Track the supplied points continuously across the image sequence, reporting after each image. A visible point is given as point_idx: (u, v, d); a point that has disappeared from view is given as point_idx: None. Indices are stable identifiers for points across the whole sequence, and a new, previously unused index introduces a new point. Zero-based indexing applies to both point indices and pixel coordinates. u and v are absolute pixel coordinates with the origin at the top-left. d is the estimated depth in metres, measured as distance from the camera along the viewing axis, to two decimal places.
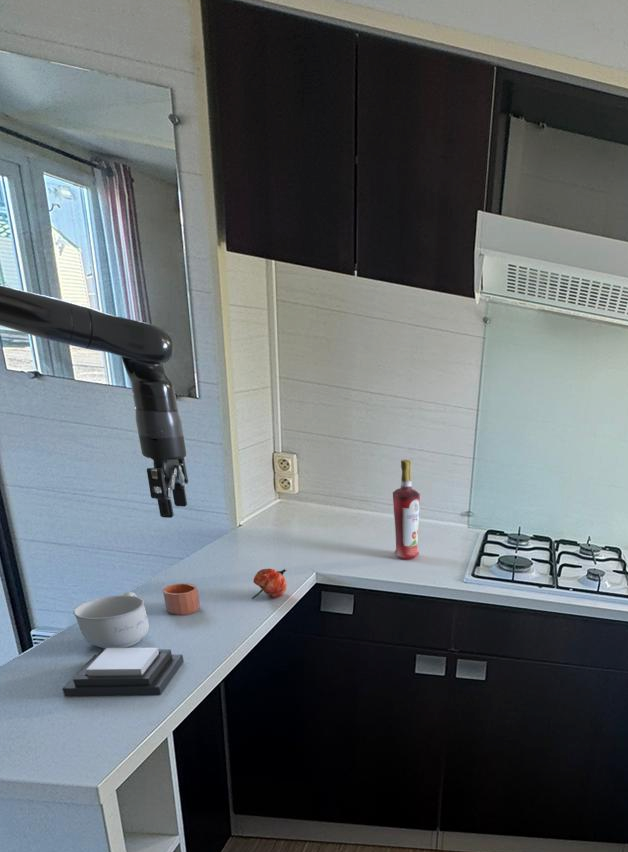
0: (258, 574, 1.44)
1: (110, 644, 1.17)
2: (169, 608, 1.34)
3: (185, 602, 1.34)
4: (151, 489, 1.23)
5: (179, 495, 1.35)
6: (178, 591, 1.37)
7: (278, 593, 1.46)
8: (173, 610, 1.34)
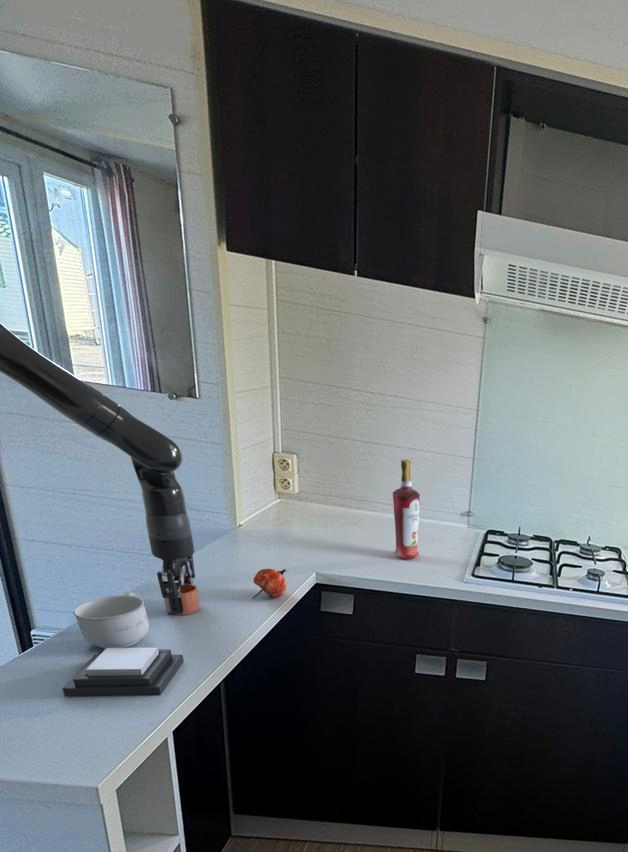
0: (258, 574, 1.44)
1: (110, 644, 1.17)
2: (169, 608, 1.34)
3: (185, 602, 1.34)
4: (162, 591, 1.28)
5: None
6: None
7: (278, 593, 1.46)
8: None
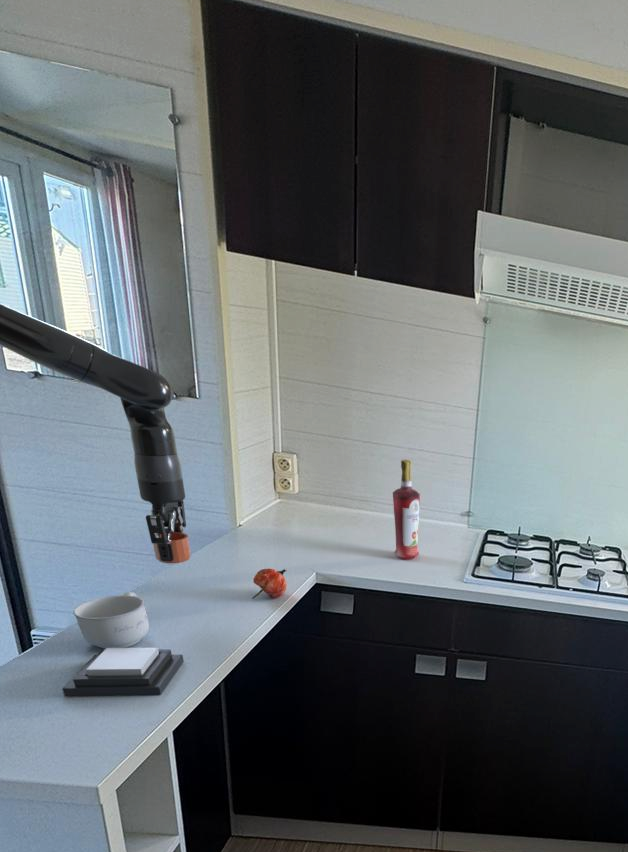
0: (258, 574, 1.44)
1: (110, 644, 1.17)
2: (159, 556, 1.29)
3: (175, 550, 1.29)
4: (151, 535, 1.23)
5: None
6: None
7: (278, 593, 1.46)
8: None
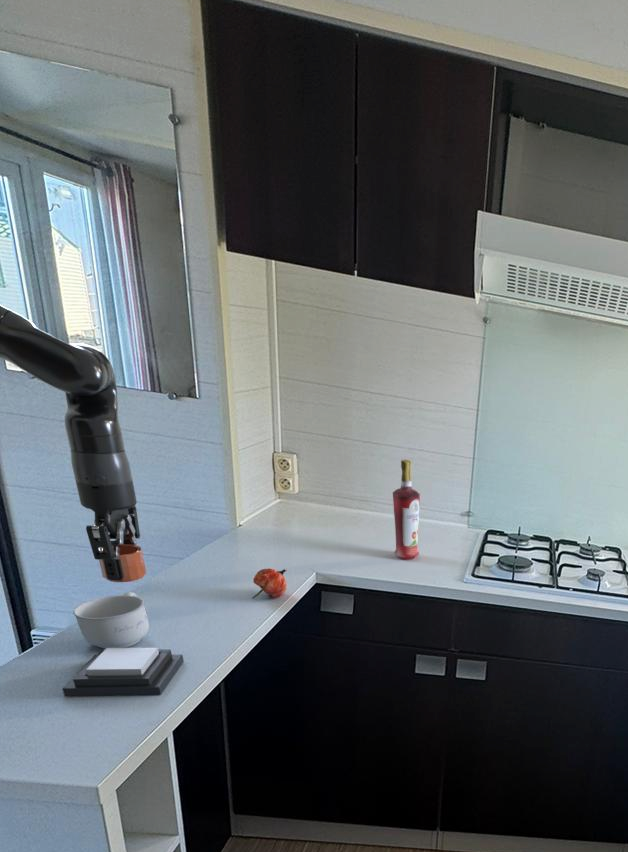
0: (258, 574, 1.44)
1: (110, 644, 1.17)
2: (106, 574, 1.07)
3: (126, 566, 1.07)
4: (94, 550, 1.02)
5: None
6: None
7: (278, 593, 1.46)
8: None
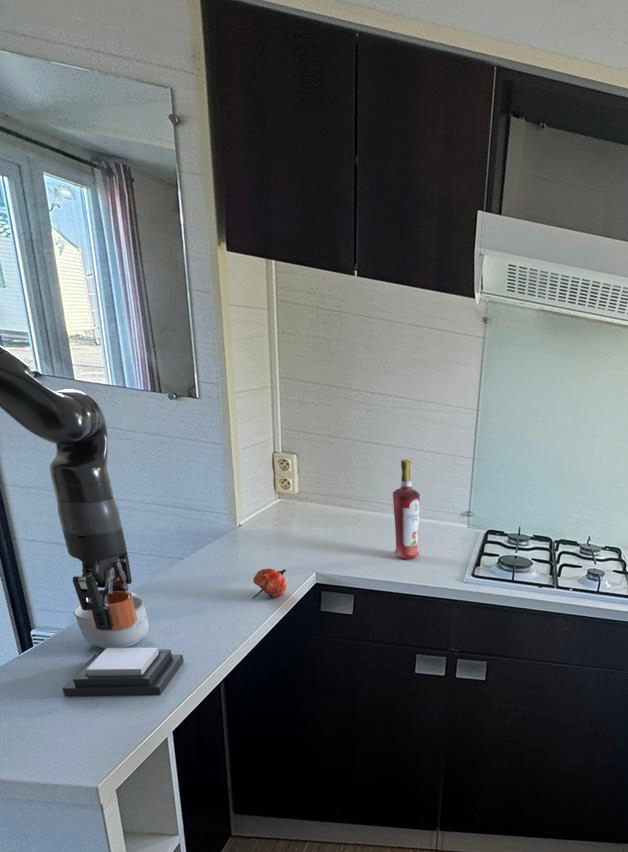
0: (258, 574, 1.44)
1: (110, 644, 1.17)
2: None
3: (115, 615, 1.04)
4: (81, 601, 0.98)
5: None
6: (109, 601, 1.07)
7: (278, 593, 1.46)
8: None
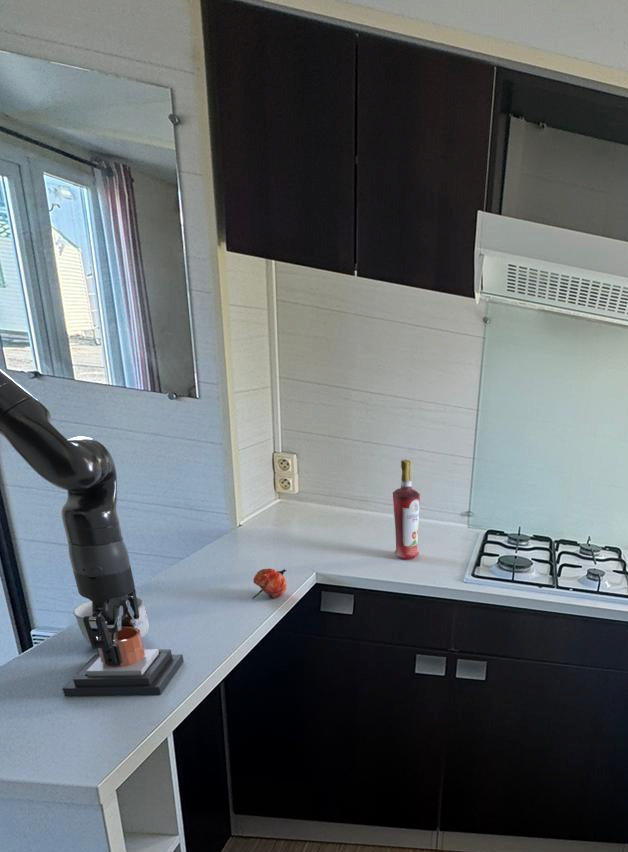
0: (258, 574, 1.44)
1: None
2: None
3: (124, 651, 1.07)
4: (91, 640, 1.01)
5: None
6: None
7: (278, 593, 1.46)
8: None
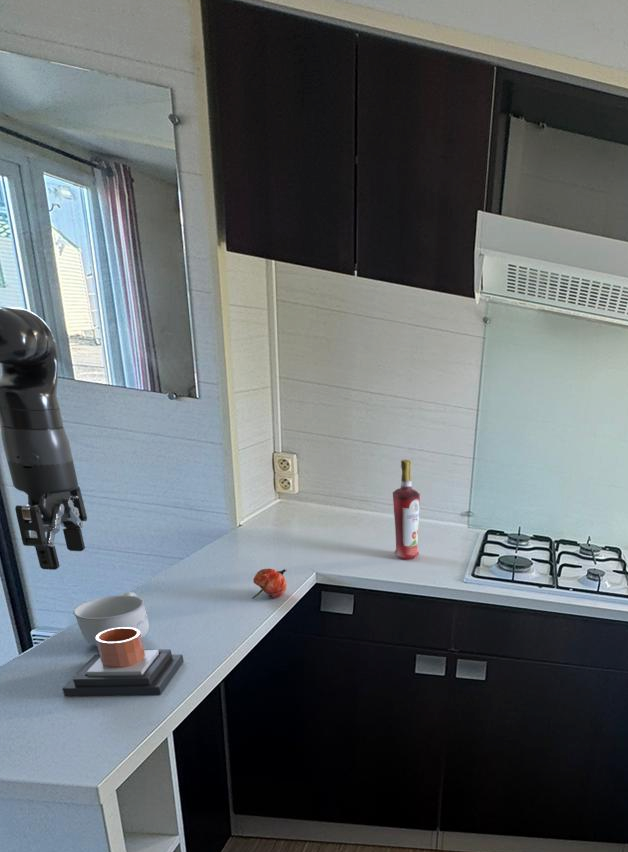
0: (258, 574, 1.44)
1: None
2: (104, 660, 1.07)
3: (124, 652, 1.07)
4: (23, 534, 0.91)
5: (73, 537, 1.02)
6: (117, 637, 1.10)
7: (278, 593, 1.46)
8: (109, 663, 1.07)
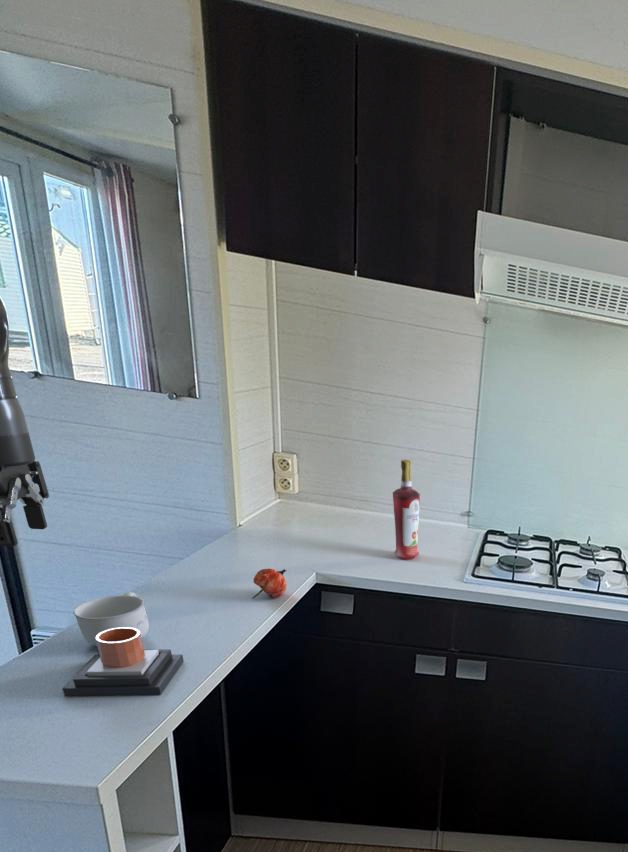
0: (258, 574, 1.44)
1: None
2: (104, 660, 1.07)
3: (124, 652, 1.07)
4: None
5: (34, 514, 0.99)
6: (117, 637, 1.10)
7: (278, 593, 1.46)
8: (109, 663, 1.07)
